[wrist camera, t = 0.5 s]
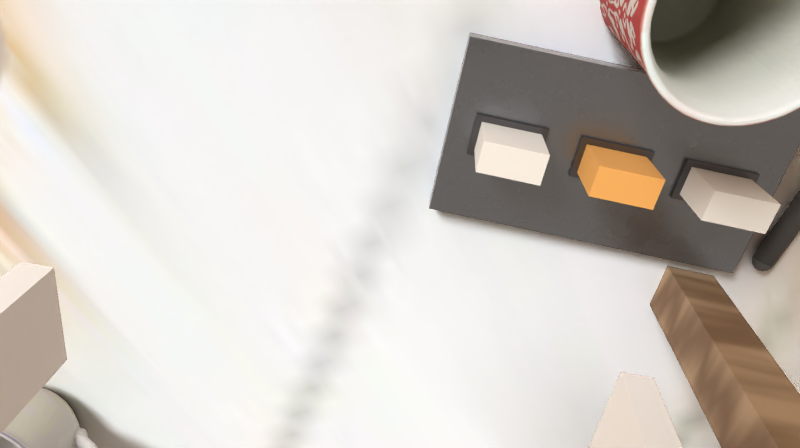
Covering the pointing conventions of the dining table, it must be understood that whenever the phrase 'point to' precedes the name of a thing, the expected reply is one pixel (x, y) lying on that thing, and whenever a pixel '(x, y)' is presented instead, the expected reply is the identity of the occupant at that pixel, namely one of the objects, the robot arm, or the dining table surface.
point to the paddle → (511, 153)
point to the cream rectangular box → (729, 200)
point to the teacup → (45, 425)
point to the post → (726, 364)
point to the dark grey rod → (779, 237)
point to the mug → (715, 54)
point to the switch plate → (604, 127)
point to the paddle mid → (620, 177)
